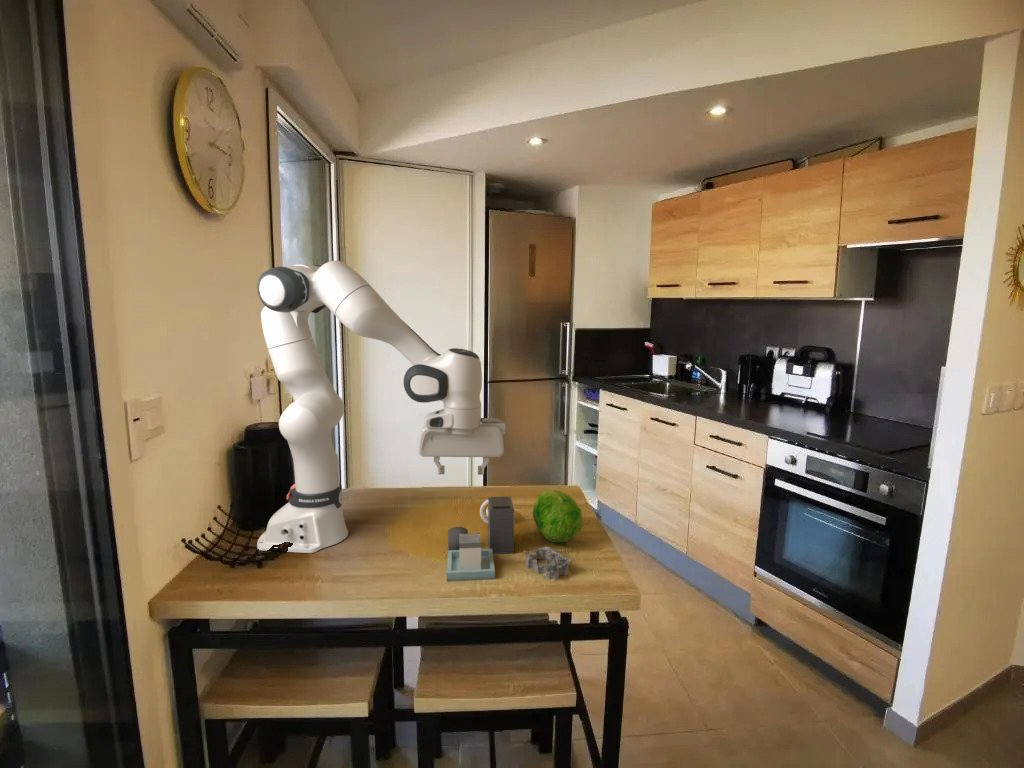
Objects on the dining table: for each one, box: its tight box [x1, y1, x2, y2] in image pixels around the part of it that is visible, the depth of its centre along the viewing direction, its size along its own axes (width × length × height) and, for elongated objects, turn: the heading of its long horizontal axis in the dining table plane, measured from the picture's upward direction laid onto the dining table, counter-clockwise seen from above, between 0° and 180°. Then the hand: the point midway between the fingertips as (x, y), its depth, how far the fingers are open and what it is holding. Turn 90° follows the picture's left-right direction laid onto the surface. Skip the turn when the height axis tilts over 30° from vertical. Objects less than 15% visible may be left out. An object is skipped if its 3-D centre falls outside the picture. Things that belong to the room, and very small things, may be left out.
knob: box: [447, 526, 469, 551], centre depth 134 cm, size 5×5×5 cm
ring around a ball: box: [479, 499, 488, 525], centre depth 147 cm, size 8×6×8 cm
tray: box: [446, 548, 496, 582], centre depth 124 cm, size 11×11×2 cm
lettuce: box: [532, 489, 584, 544], centre depth 142 cm, size 13×23×12 cm, turn 5°
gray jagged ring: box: [522, 546, 572, 581], centre depth 124 cm, size 11×8×4 cm
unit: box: [487, 496, 515, 555], centre depth 135 cm, size 6×8×12 cm
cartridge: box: [459, 532, 482, 570], centre depth 124 cm, size 5×5×7 cm
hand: (461, 473), depth 125 cm, fingers open, 8 cm apart
